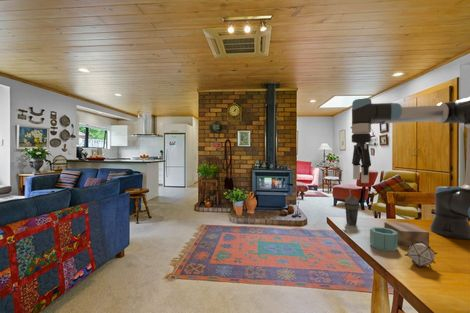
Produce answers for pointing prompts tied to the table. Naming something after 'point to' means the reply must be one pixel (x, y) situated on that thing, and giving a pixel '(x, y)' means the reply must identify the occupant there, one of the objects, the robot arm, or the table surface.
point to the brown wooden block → (408, 233)
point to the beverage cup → (351, 209)
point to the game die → (421, 254)
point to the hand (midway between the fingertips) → (360, 181)
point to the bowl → (384, 239)
